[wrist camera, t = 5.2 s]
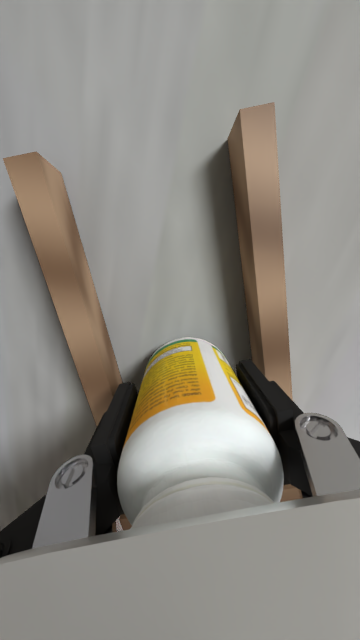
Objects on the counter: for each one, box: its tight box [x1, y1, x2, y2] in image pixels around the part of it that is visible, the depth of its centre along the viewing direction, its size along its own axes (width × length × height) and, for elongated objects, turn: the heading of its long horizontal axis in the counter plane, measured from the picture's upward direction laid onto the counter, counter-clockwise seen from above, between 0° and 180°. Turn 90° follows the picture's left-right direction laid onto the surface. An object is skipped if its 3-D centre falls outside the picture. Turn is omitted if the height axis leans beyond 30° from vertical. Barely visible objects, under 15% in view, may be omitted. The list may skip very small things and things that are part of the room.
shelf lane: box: [3, 102, 301, 530], centre depth 12 cm, size 22×12×3 cm, turn 11°
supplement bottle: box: [117, 337, 284, 529], centre depth 8 cm, size 5×5×10 cm
